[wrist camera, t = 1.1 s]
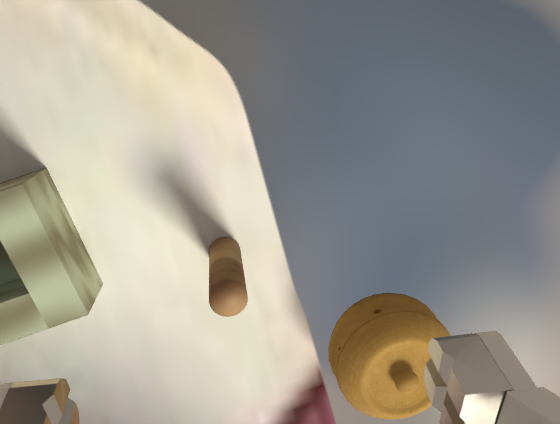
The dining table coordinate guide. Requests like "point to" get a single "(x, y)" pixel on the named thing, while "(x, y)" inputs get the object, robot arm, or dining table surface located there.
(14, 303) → the socket block
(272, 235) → the dining table surface
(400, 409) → the pot
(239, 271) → the dowel
